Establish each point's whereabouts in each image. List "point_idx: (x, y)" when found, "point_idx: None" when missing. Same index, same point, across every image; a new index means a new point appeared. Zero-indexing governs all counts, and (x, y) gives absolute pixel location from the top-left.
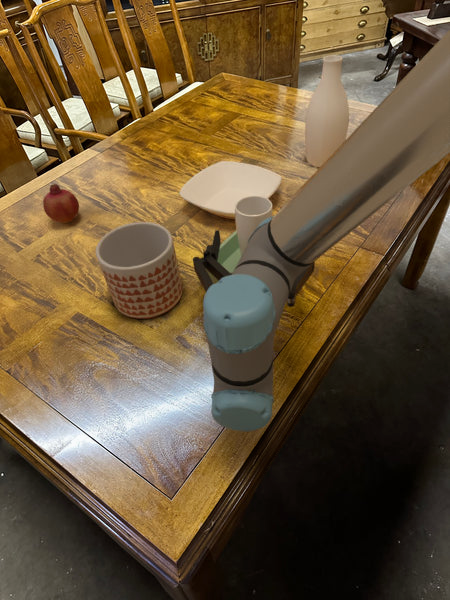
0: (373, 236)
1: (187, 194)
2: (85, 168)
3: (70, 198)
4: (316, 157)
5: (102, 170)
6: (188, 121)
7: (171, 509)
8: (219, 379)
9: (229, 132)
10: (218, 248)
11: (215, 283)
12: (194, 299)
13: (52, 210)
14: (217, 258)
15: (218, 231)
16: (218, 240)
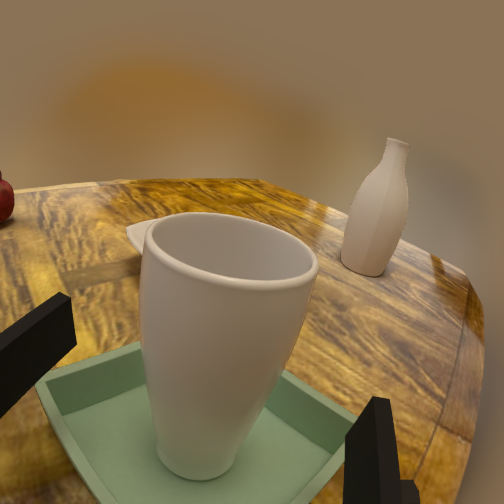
0: (452, 401)
1: (140, 235)
2: (71, 190)
3: (1, 191)
4: (357, 257)
5: (83, 196)
6: (207, 190)
7: None
8: None
9: (248, 209)
10: (36, 364)
11: (62, 446)
12: (5, 452)
13: None
14: (9, 402)
15: (64, 300)
16: (44, 334)
